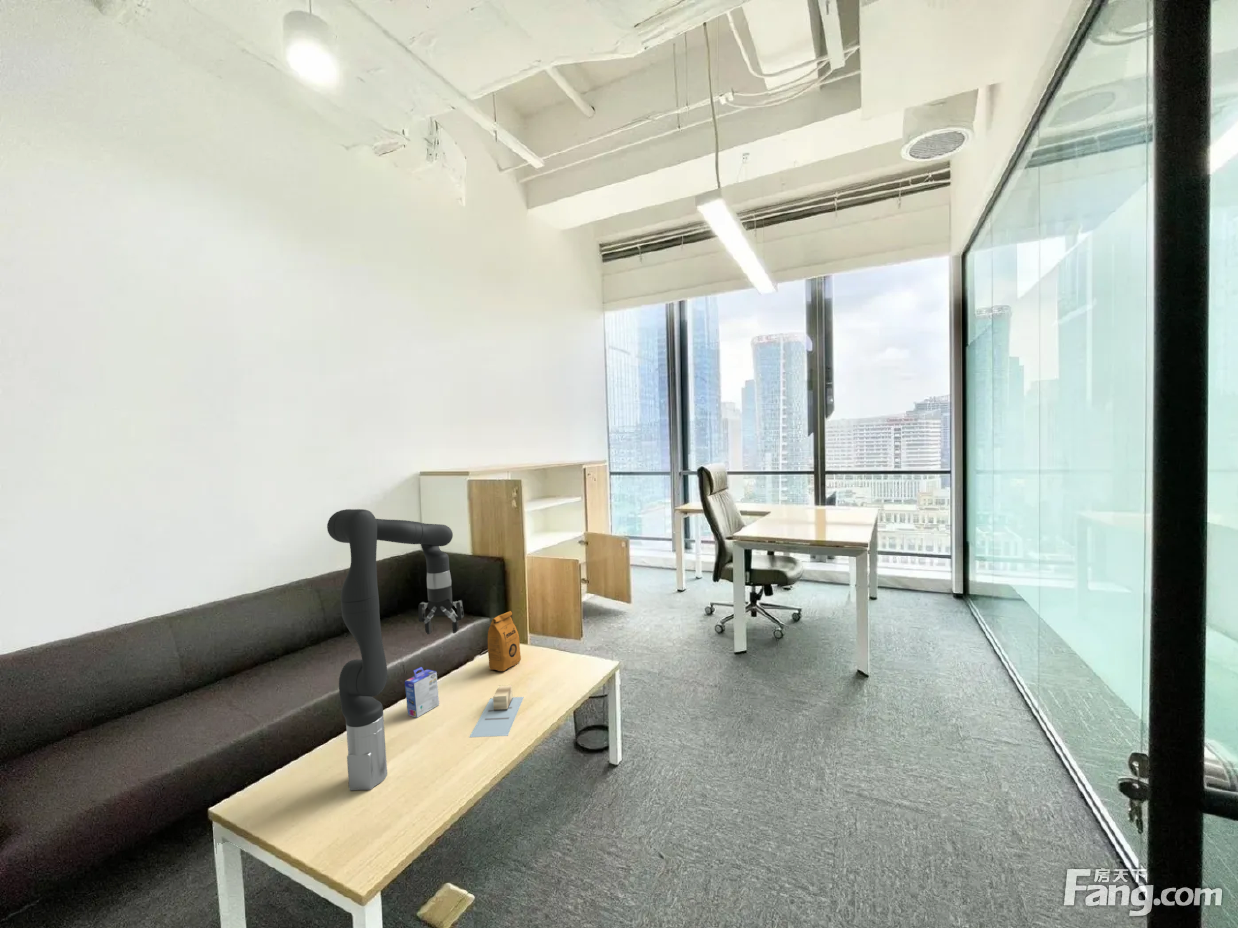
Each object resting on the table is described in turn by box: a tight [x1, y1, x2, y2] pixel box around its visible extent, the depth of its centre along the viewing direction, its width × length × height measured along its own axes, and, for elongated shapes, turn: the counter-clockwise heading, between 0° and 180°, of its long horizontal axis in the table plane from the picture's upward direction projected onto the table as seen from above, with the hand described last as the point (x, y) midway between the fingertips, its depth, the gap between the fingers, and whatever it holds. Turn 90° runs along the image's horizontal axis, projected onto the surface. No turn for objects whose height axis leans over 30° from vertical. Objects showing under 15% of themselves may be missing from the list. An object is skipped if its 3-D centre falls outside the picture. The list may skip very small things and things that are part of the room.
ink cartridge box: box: [404, 666, 440, 719], centre depth 175 cm, size 10×6×14 cm, turn 151°
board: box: [469, 696, 524, 738], centre depth 166 cm, size 24×12×2 cm, turn 179°
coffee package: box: [487, 610, 522, 672], centre depth 208 cm, size 10×12×22 cm
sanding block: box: [492, 684, 514, 711], centre depth 173 cm, size 8×4×5 cm, turn 179°
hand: (442, 632), depth 166 cm, fingers open, 8 cm apart
